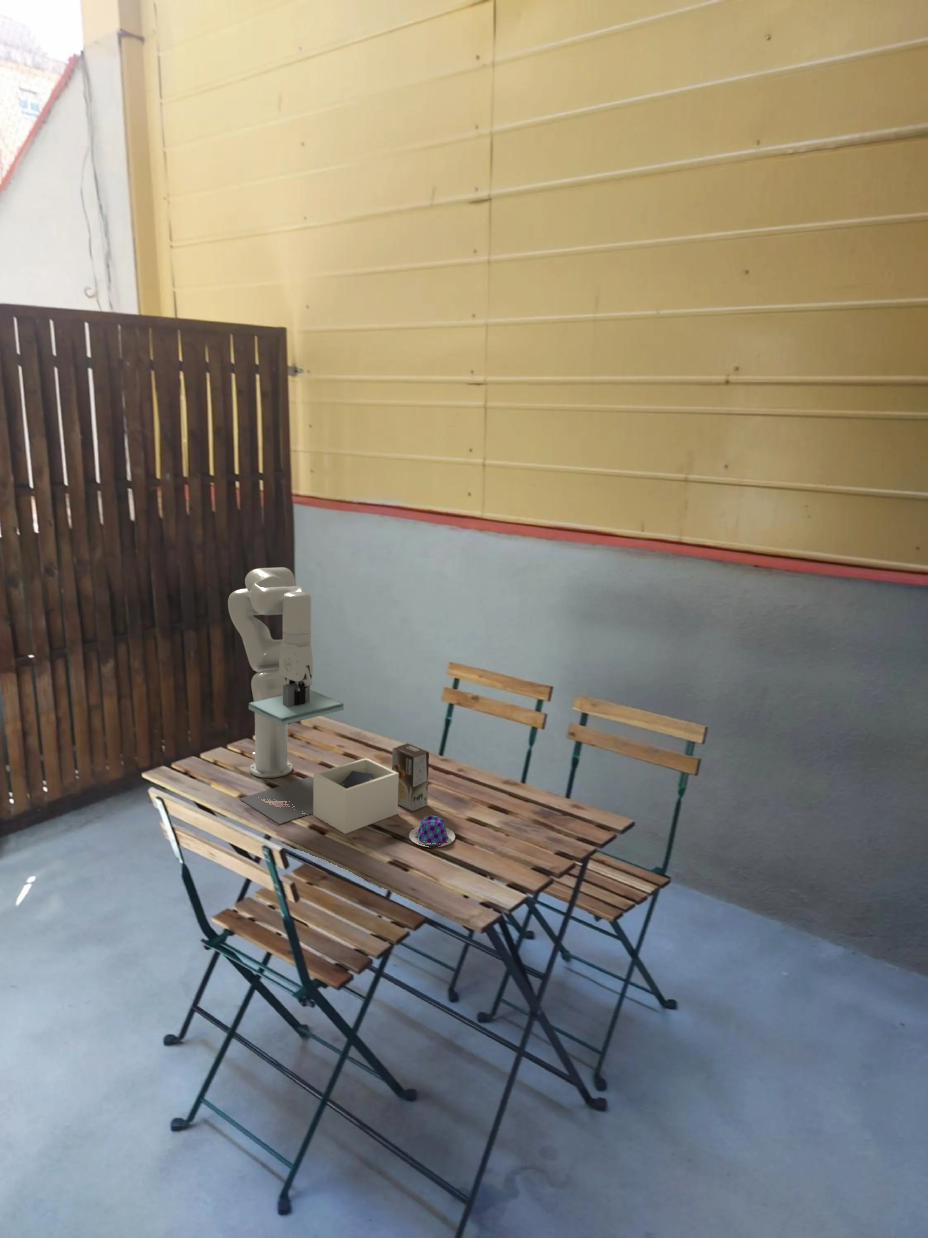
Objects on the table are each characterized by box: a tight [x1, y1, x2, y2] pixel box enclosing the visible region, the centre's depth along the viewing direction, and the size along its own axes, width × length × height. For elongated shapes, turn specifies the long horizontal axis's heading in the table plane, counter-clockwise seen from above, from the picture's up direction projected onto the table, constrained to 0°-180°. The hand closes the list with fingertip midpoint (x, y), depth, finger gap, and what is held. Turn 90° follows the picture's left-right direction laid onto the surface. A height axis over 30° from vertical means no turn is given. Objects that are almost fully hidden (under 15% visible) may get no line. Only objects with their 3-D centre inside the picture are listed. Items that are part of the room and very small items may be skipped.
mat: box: [239, 776, 314, 826], centre depth 234 cm, size 20×24×1 cm
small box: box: [340, 771, 373, 789], centre depth 225 cm, size 11×6×10 cm, turn 168°
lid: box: [248, 682, 345, 725], centre depth 227 cm, size 16×20×7 cm
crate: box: [312, 757, 399, 835], centre depth 225 cm, size 14×18×12 cm
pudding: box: [408, 815, 456, 848], centre depth 215 cm, size 12×12×5 cm
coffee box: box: [391, 743, 430, 812], centre depth 233 cm, size 9×6×16 cm
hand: (296, 702), depth 228 cm, fingers closed on lid, 2 cm apart
